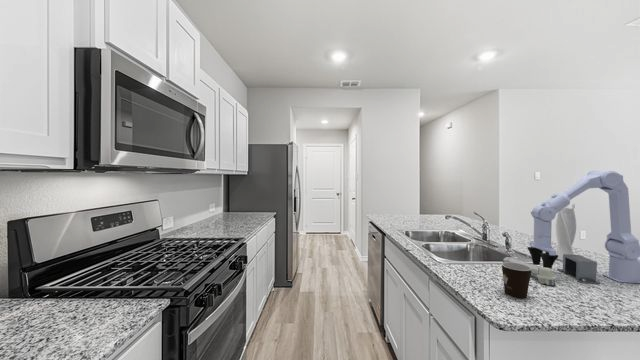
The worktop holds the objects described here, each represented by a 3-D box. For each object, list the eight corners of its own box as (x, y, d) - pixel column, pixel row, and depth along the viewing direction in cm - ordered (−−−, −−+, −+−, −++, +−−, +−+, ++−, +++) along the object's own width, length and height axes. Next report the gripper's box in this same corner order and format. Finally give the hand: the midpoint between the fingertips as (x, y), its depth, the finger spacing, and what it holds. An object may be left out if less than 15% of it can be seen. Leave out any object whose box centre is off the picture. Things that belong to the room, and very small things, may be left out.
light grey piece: (511, 256, 132) (558, 267, 108) (512, 271, 132) (560, 285, 107) (500, 256, 132) (545, 267, 107) (501, 271, 132) (546, 285, 107)
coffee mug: (532, 302, 94) (532, 272, 94) (501, 296, 99) (501, 267, 98) (528, 289, 104) (529, 262, 104) (500, 284, 109) (501, 258, 108)
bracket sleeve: (574, 271, 123) (574, 253, 123) (601, 284, 109) (602, 264, 109) (557, 270, 124) (557, 252, 124) (581, 283, 110) (582, 263, 110)
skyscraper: (581, 263, 134) (583, 203, 133) (564, 263, 134) (566, 203, 133) (566, 257, 142) (568, 201, 141) (549, 257, 142) (551, 201, 141)
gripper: (522, 231, 126) (521, 261, 127) (542, 238, 112) (541, 273, 112) (540, 231, 125) (539, 262, 125) (562, 239, 111) (561, 274, 111)
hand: (541, 267), depth 119 cm, fingers open, 7 cm apart
